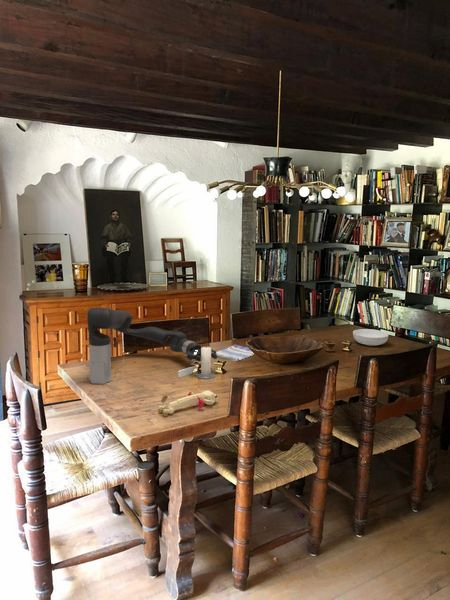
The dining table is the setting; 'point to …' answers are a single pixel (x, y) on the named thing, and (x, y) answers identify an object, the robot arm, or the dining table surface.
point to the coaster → (205, 376)
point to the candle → (206, 361)
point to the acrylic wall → (186, 371)
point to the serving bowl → (370, 336)
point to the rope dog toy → (187, 401)
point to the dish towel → (235, 353)
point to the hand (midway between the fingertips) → (208, 358)
